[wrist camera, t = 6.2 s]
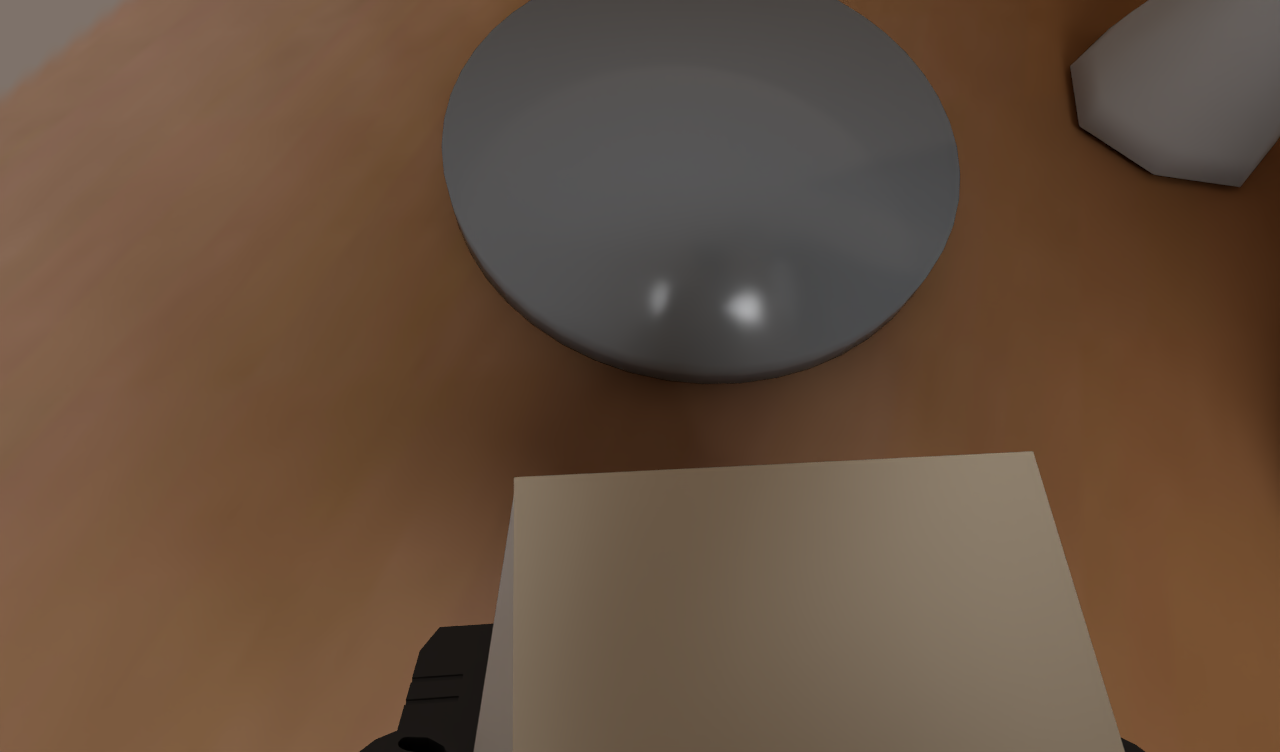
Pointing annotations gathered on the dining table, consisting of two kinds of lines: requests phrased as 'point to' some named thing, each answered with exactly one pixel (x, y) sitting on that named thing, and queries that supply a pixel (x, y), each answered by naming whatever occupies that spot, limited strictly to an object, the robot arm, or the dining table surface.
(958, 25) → the dining table surface
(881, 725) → the birch block
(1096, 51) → the flask
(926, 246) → the plate
